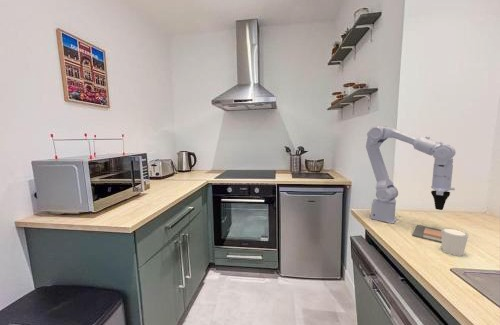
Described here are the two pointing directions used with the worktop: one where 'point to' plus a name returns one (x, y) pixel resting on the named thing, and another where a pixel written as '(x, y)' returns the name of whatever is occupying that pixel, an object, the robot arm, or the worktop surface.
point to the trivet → (420, 230)
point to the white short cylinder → (453, 241)
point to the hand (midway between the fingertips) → (439, 209)
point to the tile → (432, 234)
